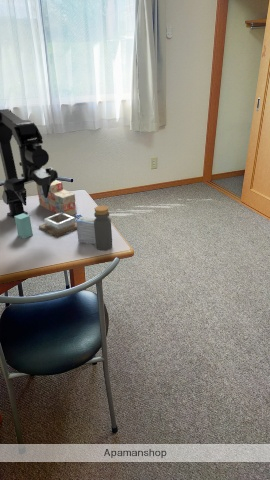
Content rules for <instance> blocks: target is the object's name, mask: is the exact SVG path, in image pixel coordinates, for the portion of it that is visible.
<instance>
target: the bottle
mask: <svg viewBox="0 0 270 480" xmlns="http://www.w3.org/2000/svg"><path fill="white" fill-rule="evenodd" d="M93 215H94V217H95V220H94V229H95V240H96V244H95V248H96V249H97V250H98V251H102V252H103V251H104V252H105V251H109V250H112V248H113V233H112V232H113V231H112V220H111V218H110V217H109V216H110V211H109V207H108V206H106V205H97V206H95V207H94V214H93Z"/></svg>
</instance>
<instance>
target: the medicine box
mask: <svg viewBox="0 0 270 480" xmlns="http://www.w3.org/2000/svg"><path fill="white" fill-rule="evenodd" d="M95 218H96V217H95ZM95 218H94V217H88V216H86V217H85V216H80V217H79V218H78V219H77V220H75V222H76V225H77V229H76V232H77V239H78V241H77V242H78V243H81V244H82V243H83V244H91V245H96V240H95V229H94V220H95Z"/></svg>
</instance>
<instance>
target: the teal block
mask: <svg viewBox="0 0 270 480" xmlns="http://www.w3.org/2000/svg"><path fill="white" fill-rule="evenodd" d="M13 219H14V222H15V227H16V233H17V236H18V237H20V238H22V239H26V238H29V237H31V236H34V235H33V233H34V232H33V228H32V222H31V215H29V214H24V213H23V214H20V215H17V216H14V218H13Z"/></svg>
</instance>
